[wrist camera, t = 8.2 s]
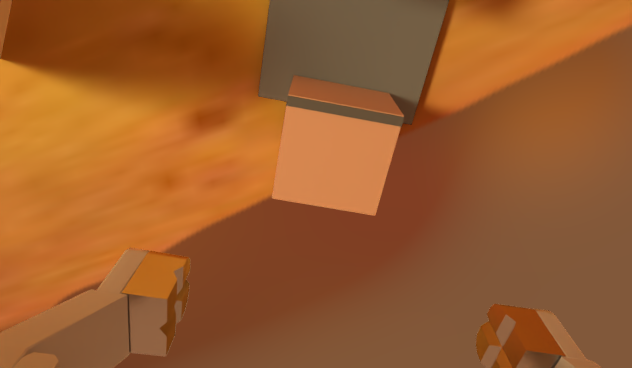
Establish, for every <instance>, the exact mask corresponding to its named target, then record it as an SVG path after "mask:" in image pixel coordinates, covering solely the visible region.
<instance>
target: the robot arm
mask: <svg viewBox="0 0 632 368" xmlns="http://www.w3.org/2000/svg"><path fill="white" fill-rule="evenodd" d="M189 272H190V258H189V257H184V256H178V255H172V254H167V253H161V252H155V251H148V250H142V249H136V248H129V249H127V250H126V251H125V252H124V254H123V255H122V256H121V258H120V259H119V260H118V262H117V263H116V264H115V266H114V267H113V269H112V270H111V271H110V273H109V274H108V275H107V277H106V278H105V279H104V281H103V282H102V284H101V285H100V286H99V288H98V289H97V290H88V291H86V292H84V293H82V294H80V295H78V296H76V297H74V298H71V299H69V300H67V301H65V302H63V303H61V304H59V305H57V306H55V307H53V308H51V309H48V310H46V311H44V312H42V313H40V314H38V315H36V316H34V317H32V318H30V319H28V320H26V321H23V322H21V323H19V324H17V325H15V326H13V327H11V328H9V329H7V330H5V331H3V332H0V368H113V367H115V366H116V365H117V364H119V363H120V362H121V361H122V360H124V359H125V358H126V357H127V356H129V353H137V354H147V355H156V356H166V355H167V353H168V351H169V348H170V346H171V343H172V341H173V339H174V336H175V329H176V323H178V322H179V321H181V319H182V317H183V314H184V312H185V308H186V304H187V301H188V295H189V282H188V281H187V280H186V279H187V276H188V274H189ZM487 316H488V319H489V321H488V322H487V323H485V324H483V325H482V326H481V327H480V329H479V331H478V333H477V337H476V350H477V354H478V357H479V359H480V362H481V363H482V364H483V365H484V366H485V367H486V368H602V367H600V366H599V365H598V364H596V363H595V362H594V361H591V360H587V359H586V358H585V357H584V356H583V354H582V352H581V351H580V350H579V348H578V347H577V345H576V344H575V342H574V341H573V340H572V338H571V337H570V336H569V334H568V333H567V331H566V330H565V328H564V327H563V326H562V324H561V323H560V321H559V320H558V319H557V317H556V316H555V314H553V313H552V312H550V311H549V310H540V309H533V308H530V309H529V308H522V307H515V306H509V305H501V304H494V305H492V306H491V307H490V309H489V311H488V313H487Z"/></svg>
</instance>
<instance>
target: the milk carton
mask: <svg viewBox="0 0 632 368" xmlns="http://www.w3.org/2000/svg"><path fill="white" fill-rule="evenodd" d="M11 4H12V0H0V59H1V54H2V49H3V44H4V39H5V34H6V29H7V24H8V19H9V14H10V9H11Z"/></svg>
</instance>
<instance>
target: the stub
mask: <svg viewBox="0 0 632 368" xmlns="http://www.w3.org/2000/svg"><path fill="white" fill-rule="evenodd" d="M403 120H404V115H403V114H402V112H401V111H400V109H399V108H398V106H397V105H396V103H395V102H394V100H393V99H392V97H391V96H390V94H389V93H386V92H381V91H375V90H370V89H365V88H360V87H354V86H349V85H344V84H339V83H333V82H328V81H323V80H318V79H312V78H307V77H302V76H297V75H294V76H293V80H292V83H291V86H290V90H289V93H288V98H287V104H286V111H285V118H284V124H283V130H282V137H281V143H280V149H279V156H278V162H277V169H276V175H275V181H274V188H273V194H272V198H273V199H279V200H285V201H290V202H297V203H303V204H308V205H315V206H320V207H326V208H332V209H338V210H344V211H350V212H357V213H363V214H369V215H375V214H376V211H377V207H378V204H379V201H380V197H381V194H382V190H383V187H384V183H385V180H386V176H387V173H388V170H389V166H390V163H391V159H392V156H393V152H394V149H395V146H396V142H397V139H398V135H399V132H400V128H401V127H402V124H403Z"/></svg>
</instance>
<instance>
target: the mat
mask: <svg viewBox="0 0 632 368" xmlns="http://www.w3.org/2000/svg"><path fill="white" fill-rule="evenodd" d="M448 2H449V0H270V5H269V13H268V21H267V29H266V37H265V45H264V53H263V61H262V70H261V78H260V86H259V94H258V96H259V97H265V98H270V99H275V100H281V101H286V102H287V98H288V93H289V90H290V86H291V83H292V80H293V76H294V75H297V76H302V77H307V78H312V79H318V80H323V81H328V82H333V83H339V84H344V85H349V86H354V87H360V88H365V89H370V90H375V91H381V92H386V93H389V94H390V96H391V97H392V99H393V100H394V102H395V103H396V105H397V106H398V108H399V109H400V111H401V112H402V114H403V115H404V120H403V123H405V124H410V125H412V121H413V118H414V115H415V112H416V108H417V105H418V102H419V98H420V95H421V92H422V88H423V85H424V82H425V78H426V75H427V72H428V69H429V65H430V62H431V59H432V55H433V52H434V49H435V45H436V42H437V39H438V36H439V32H440V29H441V26H442V22H443V19H444V16H445V12H446V9H447V6H448Z"/></svg>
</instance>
